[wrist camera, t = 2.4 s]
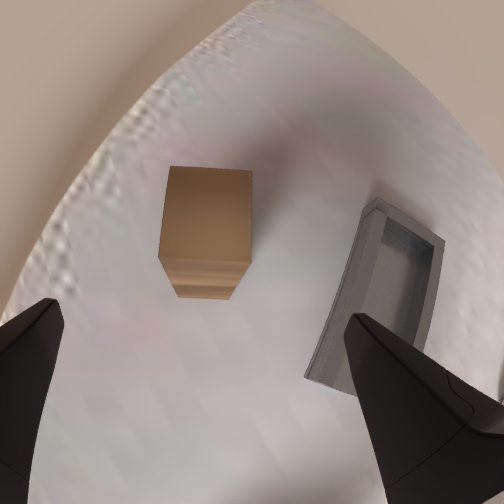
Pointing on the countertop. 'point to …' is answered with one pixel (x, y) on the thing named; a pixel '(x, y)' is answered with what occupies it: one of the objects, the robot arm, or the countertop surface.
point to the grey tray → (381, 288)
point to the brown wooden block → (206, 230)
